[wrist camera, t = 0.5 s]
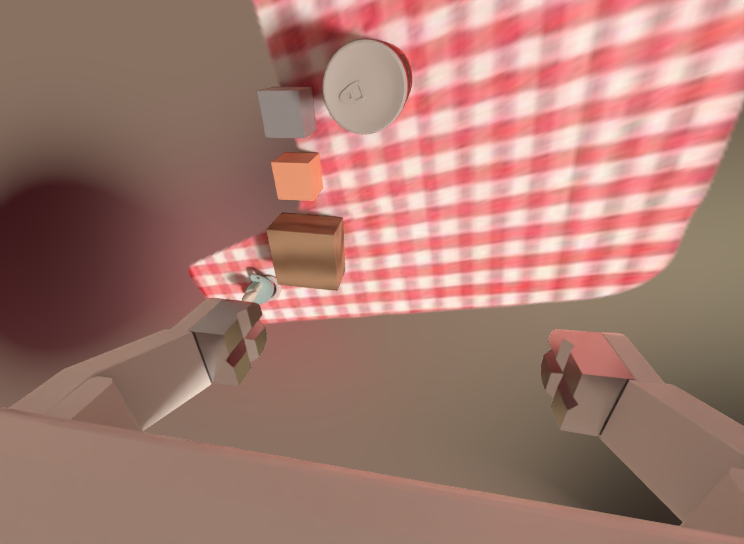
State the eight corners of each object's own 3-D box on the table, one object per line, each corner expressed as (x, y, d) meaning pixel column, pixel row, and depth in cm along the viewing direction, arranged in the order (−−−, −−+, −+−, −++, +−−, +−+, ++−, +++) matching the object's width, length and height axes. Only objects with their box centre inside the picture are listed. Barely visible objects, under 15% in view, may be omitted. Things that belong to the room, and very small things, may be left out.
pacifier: (286, 278, 58) (255, 264, 57) (274, 300, 53) (239, 286, 52) (276, 303, 62) (247, 291, 61) (263, 326, 57) (232, 313, 56)
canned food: (334, 74, 38) (305, 81, 29) (388, 23, 34) (373, 13, 26) (372, 130, 41) (355, 152, 32) (425, 88, 37) (423, 100, 28)
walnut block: (282, 212, 50) (266, 229, 45) (343, 217, 49) (333, 235, 44) (290, 264, 56) (277, 284, 51) (345, 269, 55) (337, 290, 50)
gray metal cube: (274, 86, 40) (256, 91, 36) (312, 86, 39) (298, 90, 35) (281, 129, 43) (265, 137, 39) (316, 129, 42) (304, 138, 38)
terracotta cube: (285, 152, 44) (270, 162, 40) (319, 152, 44) (308, 163, 40) (291, 186, 47) (278, 199, 43) (323, 187, 47) (313, 200, 43)
